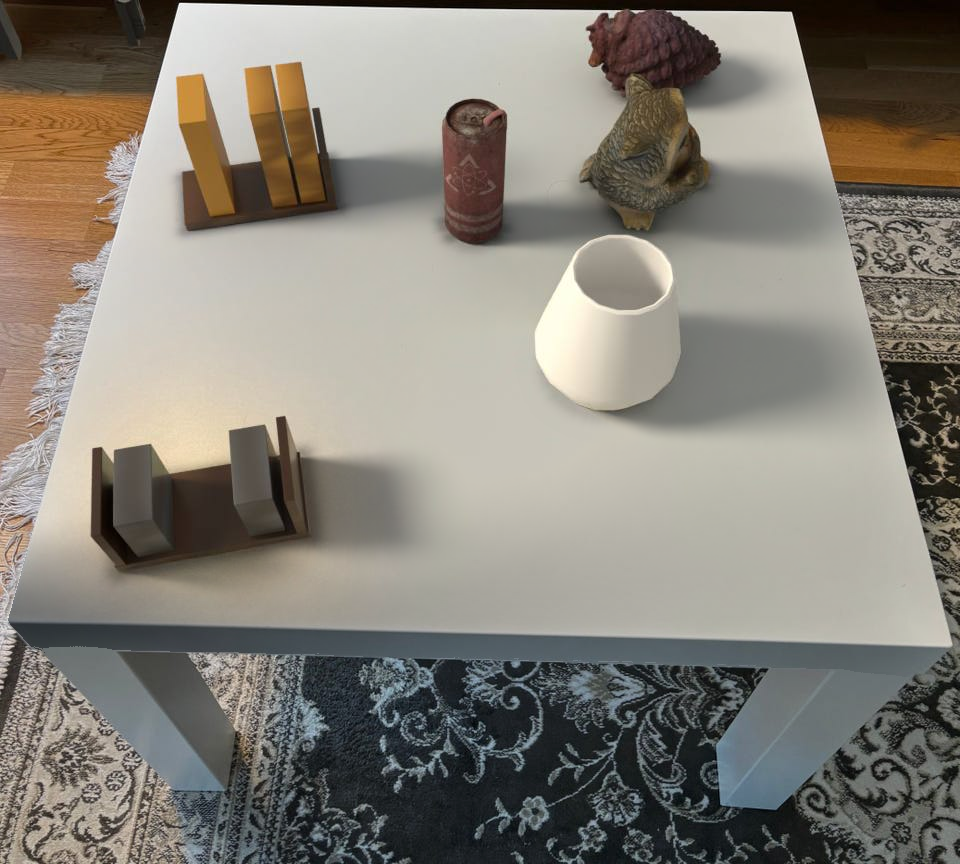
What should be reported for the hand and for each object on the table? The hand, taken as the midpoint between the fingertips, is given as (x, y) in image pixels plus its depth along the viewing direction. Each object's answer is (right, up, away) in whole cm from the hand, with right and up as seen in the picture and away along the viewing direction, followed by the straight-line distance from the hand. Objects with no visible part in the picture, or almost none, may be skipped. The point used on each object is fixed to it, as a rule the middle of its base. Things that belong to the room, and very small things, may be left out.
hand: (76, 48), depth 66 cm
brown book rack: (+7, -35, +11) cm, 38 cm away
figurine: (+48, -3, +31) cm, 57 cm away
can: (+29, -6, +29) cm, 42 cm away
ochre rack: (+6, -2, +31) cm, 31 cm away
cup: (+42, -23, +19) cm, 51 cm away
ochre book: (+2, -3, +29) cm, 30 cm away
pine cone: (+50, +13, +41) cm, 66 cm away
